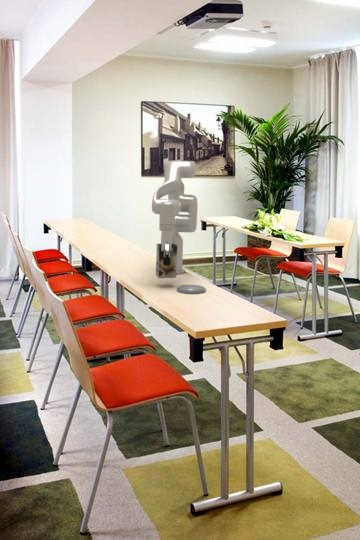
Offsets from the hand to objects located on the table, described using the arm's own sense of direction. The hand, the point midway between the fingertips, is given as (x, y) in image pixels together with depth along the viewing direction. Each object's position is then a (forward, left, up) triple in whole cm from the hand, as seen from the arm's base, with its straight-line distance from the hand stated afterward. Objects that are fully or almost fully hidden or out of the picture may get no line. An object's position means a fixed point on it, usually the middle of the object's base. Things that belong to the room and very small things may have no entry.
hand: (166, 263), depth 300 cm
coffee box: (0, 0, -7) cm, 7 cm away
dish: (+9, +12, -12) cm, 19 cm away
